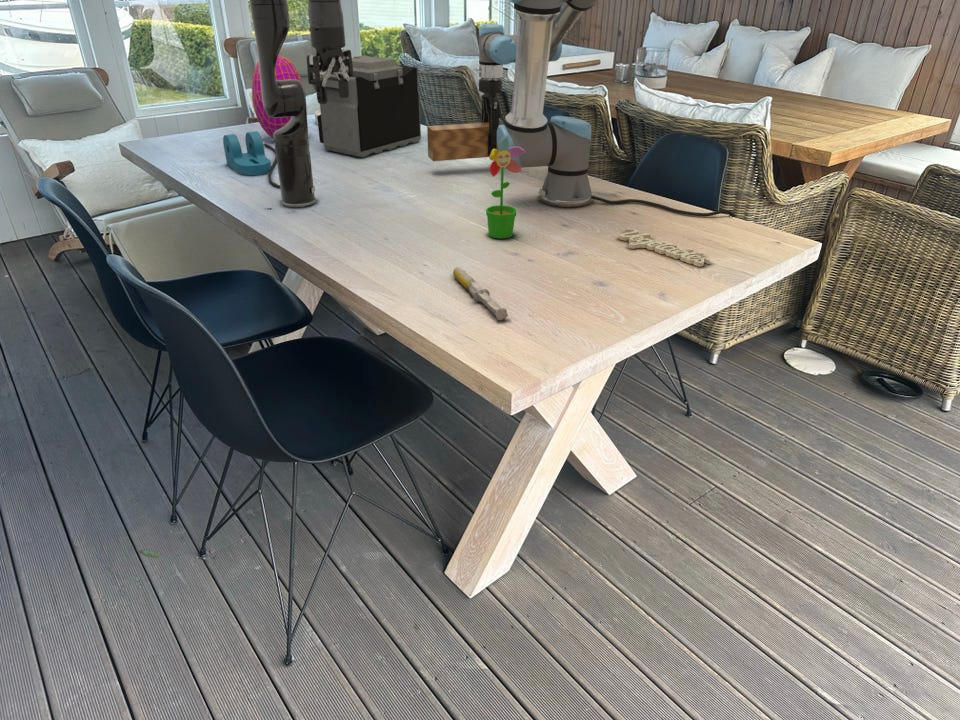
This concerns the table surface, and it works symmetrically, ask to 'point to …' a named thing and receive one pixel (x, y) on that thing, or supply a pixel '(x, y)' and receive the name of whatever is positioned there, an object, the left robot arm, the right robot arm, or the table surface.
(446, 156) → the box
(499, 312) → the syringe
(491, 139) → the right robot arm
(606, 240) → the table surface
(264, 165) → the camera mount
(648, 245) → the decorative sign
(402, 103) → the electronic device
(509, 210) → the potted flower
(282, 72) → the decorative egg
